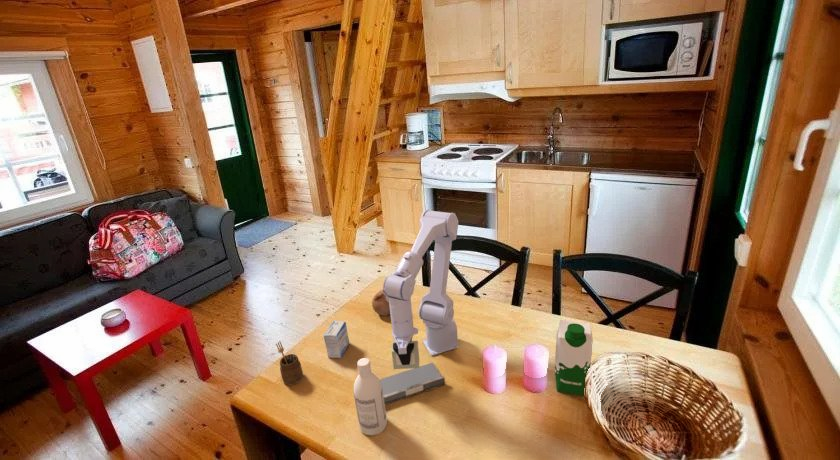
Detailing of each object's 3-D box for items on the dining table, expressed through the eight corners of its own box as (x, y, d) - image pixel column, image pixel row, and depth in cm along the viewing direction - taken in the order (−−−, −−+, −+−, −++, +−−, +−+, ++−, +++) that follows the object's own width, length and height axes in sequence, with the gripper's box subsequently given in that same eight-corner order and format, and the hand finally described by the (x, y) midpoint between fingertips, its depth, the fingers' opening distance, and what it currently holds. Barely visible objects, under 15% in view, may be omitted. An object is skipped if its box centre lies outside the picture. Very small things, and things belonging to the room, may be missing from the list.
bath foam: (373, 409, 107) (364, 348, 100) (392, 422, 103) (384, 359, 95) (354, 427, 102) (342, 364, 95) (373, 441, 98) (362, 376, 90)
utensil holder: (292, 388, 117) (284, 354, 112) (278, 381, 120) (269, 348, 115) (307, 375, 121) (300, 342, 117) (293, 368, 124) (285, 336, 120)
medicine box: (340, 358, 127) (336, 336, 124) (327, 357, 128) (323, 335, 125) (349, 342, 134) (346, 321, 131) (337, 342, 135) (333, 320, 132)
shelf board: (432, 364, 121) (432, 357, 120) (445, 384, 113) (444, 377, 112) (368, 385, 115) (367, 378, 115) (376, 408, 107) (375, 401, 106)
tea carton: (394, 359, 115) (392, 342, 112) (419, 358, 114) (417, 340, 112) (393, 369, 111) (391, 351, 109) (419, 368, 111) (417, 350, 108)
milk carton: (553, 393, 107) (557, 331, 100) (554, 370, 115) (558, 311, 108) (588, 400, 105) (595, 336, 97) (587, 375, 112) (593, 315, 105)
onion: (382, 325, 147) (372, 310, 140) (374, 307, 154) (364, 292, 147) (405, 311, 148) (395, 296, 141) (396, 294, 155) (386, 279, 148)
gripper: (416, 332, 100) (420, 375, 105) (417, 301, 113) (420, 340, 119) (388, 334, 100) (393, 377, 105) (392, 302, 114) (396, 342, 119)
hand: (406, 358), depth 112 cm, fingers closed on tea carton, 4 cm apart
